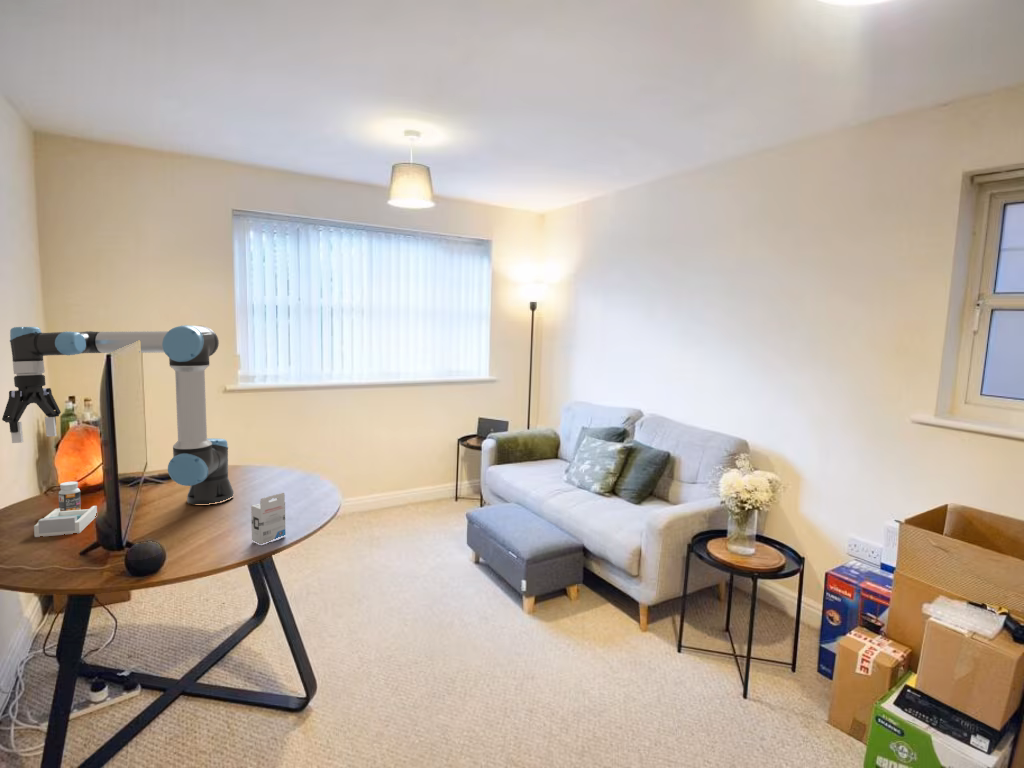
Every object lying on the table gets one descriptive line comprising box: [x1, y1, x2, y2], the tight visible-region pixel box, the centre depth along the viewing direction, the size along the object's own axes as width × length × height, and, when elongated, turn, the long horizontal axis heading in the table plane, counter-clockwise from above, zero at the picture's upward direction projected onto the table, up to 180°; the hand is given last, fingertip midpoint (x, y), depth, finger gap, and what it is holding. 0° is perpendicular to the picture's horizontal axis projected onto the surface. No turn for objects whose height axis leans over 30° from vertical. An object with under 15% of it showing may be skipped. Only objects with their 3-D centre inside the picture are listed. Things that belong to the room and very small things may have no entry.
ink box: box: [250, 492, 286, 544], centre depth 164 cm, size 9×5×15 cm, turn 148°
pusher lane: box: [33, 505, 98, 538], centre depth 170 cm, size 16×11×5 cm
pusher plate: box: [49, 515, 81, 520], centre depth 167 cm, size 3×8×2 cm, turn 112°
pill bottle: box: [57, 481, 82, 511], centre depth 182 cm, size 6×6×10 cm
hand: (35, 439), depth 175 cm, fingers open, 13 cm apart
